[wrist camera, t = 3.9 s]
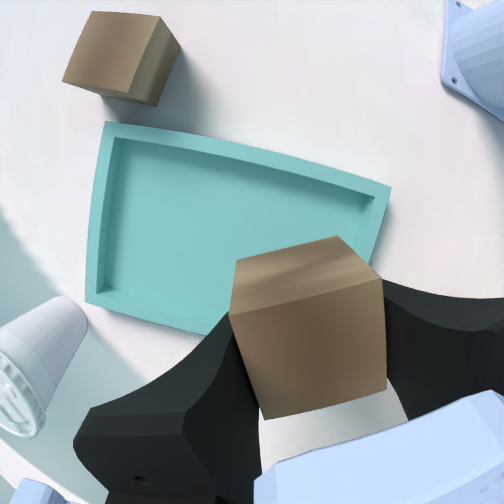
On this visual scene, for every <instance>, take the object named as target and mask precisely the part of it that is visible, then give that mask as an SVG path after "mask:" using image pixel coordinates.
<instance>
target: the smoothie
mask: <svg viewBox="0 0 504 504" xmlns="http://www.w3.org/2000/svg"><path fill="white" fill-rule="evenodd" d="M87 329H88V324H87V319H86V316H85V314H84V312H83V311H82V309H81V308H80V307H79V306H78V304H77V303H75V302H74V301H73V300H71V299H69V298H67V297H64V296H57V297H55V298H53V299H51V300H49V301H47V302H45V303H44V304H42V305H40V306H38V307H36V308H34V309H33V310H31V311H29V312H27V313H25V314H24V315H22V316H20V317H18V318H16V319H15V320H13V321H11V322H9V323H8V324H6V325H4V326H2V327H1V328H0V427H2V428H3V429H5V430H6V431H8V432H10V433H11V434H13V435H16V436H18V437H21V438H26V439H32V438H35V437H36V436H37V435H38V433H39V432H40V430H41V429H42V428H43V427H44V426H45V422H46V415H45V411H46V409H47V407H48V405H49V403H50V401H51V399H52V397H53V394H54V393H55V390H56V389H57V386H58V385H59V383H60V381H61V378H62V377H63V375H64V373H65V371H66V369H67V367H68V366H69V363H70V362H71V360H72V358H73V356H74V354H75V353H76V351H77V349H78V347H79V345H80V343H81V342H82V340H83V338H84V337H85V335H86V333H87Z"/></svg>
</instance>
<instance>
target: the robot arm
mask: <svg viewBox="0 0 504 504" xmlns="http://www.w3.org/2000/svg"><path fill="white" fill-rule="evenodd" d="M440 78H441V81H442V82H443V83H444V84H445V85H447V86H448V87H450V88H452V89H454V90H455V91H457V92H459V93H460V94H462V95H464V96H465V97H467V98H469V99H470V100H472V101H473V102H475V103H477V104H478V105H480V106H481V107H483V108H484V109H486V110H487V111H489V112H490V113H492V114H493V115H494V116H496V117H497V118H499V119H500V120H501V121H503V122H504V0H494V1H492V2H490V3H488V4H486V5H484V6H482V7H480V8H478V9H476V10H474V11H473V10H472V9H470V8H469V7H467V6H466V5H464V4H463V3H461V2H460V1H458V0H445V26H444V42H443V54H442V65H441V74H440ZM452 79H453V80H454V83H455V84H453V82H452ZM382 287H383V299H384V313H385V331H386V364H387V378H388V379H389V381H390V383H391V384H392V386H393V388H394V389H395V391H396V393H397V395H398V397H399V399H400V402H401V404H402V406H403V409H404V411H405V413H406V416H407V418H408V421H407V422H405V423H402V424H399V425H397V426H394V427H391V428H388V429H385V430H382V431H379V432H376V433H373V434H370V435H367V436H364V437H360V438H357V439H353V440H350V441H346V442H343V443H339V444H335V445H331V446H327V447H323V448H319V449H314V450H311V451H308V452H305V453H303V454H300V455H297V456H294V457H291V458H288V459H285V460H282V461H279V462H278V463H276V464H275V465H273V466H272V467H271V468H270V469H269V470H267V471H266V472H265V473H263V474H262V468H261V458H260V446H259V428H258V422H259V404H258V401H257V398H256V395H255V393H254V390H253V387H252V384H251V381H250V378H249V376H248V373H247V370H246V367H245V364H244V361H243V358H242V355H241V352H240V349H239V346H238V344H237V341H236V338H235V335H234V332H233V329H232V325H231V322H230V319H229V316H228V314H229V311H228V312H227V313H226V314H225V315H224V316H223V317H222V318H221V320H220V321H219V322H218V323H217V324H216V326H215V327H214V328H213V329H212V330H211V331H210V333H209V334H208V335H207V336H206V337H205V338H204V339H203V340H202V341H201V342H200V343H199V344H198V345H197V346H196V347H195V349H194V350H193V351H192V352H191V353H189V354H188V355H187V356H186V357H185V358H184V359H183V360H182V361H180V362H179V363H178V364H177V365H175V366H174V367H173V368H171V369H170V370H169V371H167V372H166V373H164V374H163V375H161V376H160V377H158V378H156V379H155V380H153V381H152V382H150V383H149V384H147V385H145V386H143V387H141V388H139V389H137V390H135V391H133V392H131V393H129V394H127V395H125V396H123V397H120V398H118V399H115V400H113V401H110V402H108V403H104V404H102V405H99V406H96V407H93V408H90V410H89V412H88V414H87V416H86V417H85V419H84V421H83V423H82V425H81V427H80V429H79V430H78V432H77V434H76V436H75V438H74V440H73V448H74V450H75V453H76V455H77V457H78V459H79V460H80V461H81V462H82V464H83V465H84V466H85V468H86V469H87V470H88V471H89V472H90V473H91V474H92V475H93V476H94V477H95V478H96V479H97V480H98V481H99V482H100V483H101V484H102V485H103V486H104V487H105V488H106V489H107V490H108V491H109V494H108V496H107V499H106V502H105V504H504V298H488V299H476V298H458V297H450V296H443V295H437V294H432V293H428V292H424V291H420V290H416V289H412V288H409V287H406V286H402V285H399V284H396V283H393V282H390V281H387V280H384V279H382ZM9 504H78V503H74V502H70V501H66V500H65V499H64V497H63V496H62V495H61V494H60V493H58V492H57V491H56V490H55V489H53V488H52V487H50V486H49V485H46V484H44V483H41V482H37V481H34V480H31V479H27V478H23V479H22V481H21V483H20V484H19V486H18V488H17V490H16V492H15V494H14V496H13V497H12V499H11V501H10V503H9Z"/></svg>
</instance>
